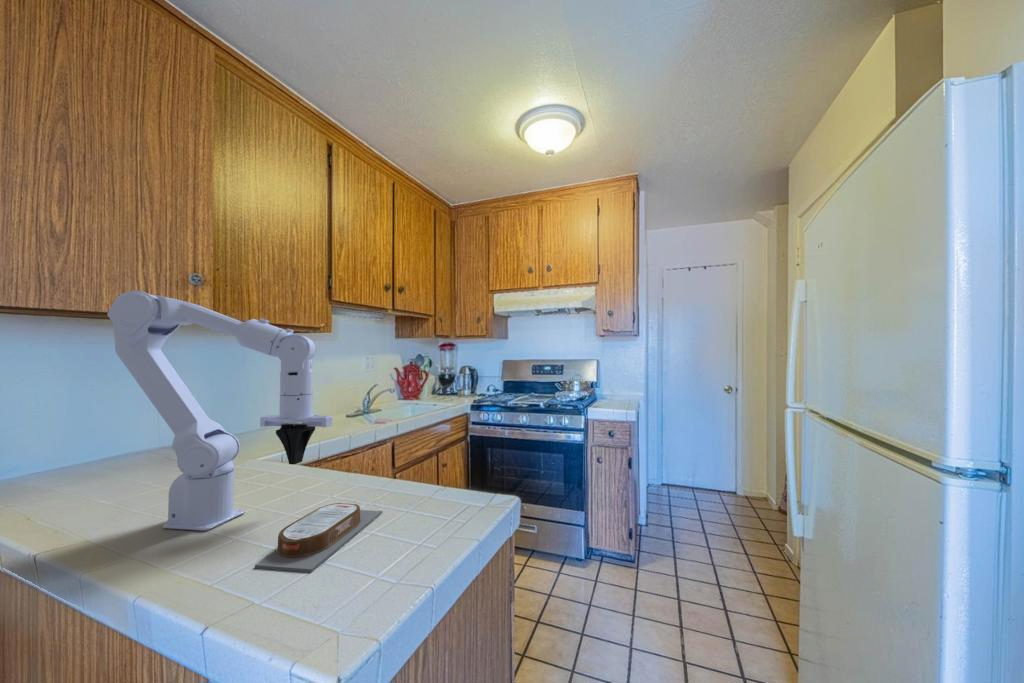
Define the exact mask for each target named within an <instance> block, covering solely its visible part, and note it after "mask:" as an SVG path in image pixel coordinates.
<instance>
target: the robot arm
mask: <svg viewBox="0 0 1024 683" xmlns="http://www.w3.org/2000/svg"><path fill="white" fill-rule="evenodd" d="M107 317H108V318H109V319H110V321H111V322H112V324H113V335H114V336H113V338H114V350H115V352H116V355H117V356H118V358H119V360H120V361H121V362H122V363H123V365H124V366H125V367H126V369H127V370H128V372H129V373H130V375H131V376H132V377H133V379H134V380H135V381H136V383H137V384H138V386H139V387H140V388H141V389H142V391H143V392H144V394H145V395H146V396H147V398H148V399H149V401H150V402H151V403H152V405H153V406H154V408H155V410H157V412H158V413H159V415H160V416H161V417H162V419H163V420H164V421H165V423H166V425H167V426H168V427H169V428H170V430H171V431H172V433H173V434H174V436H173V439H172V440H173V441H172V445H171V449H172V450H173V451H174V452H175V453H174V454H176V462H177V467H178V469H179V470H180V472H182V474H180V475H179V476H177V477H176V478H175V479H174V480H173V482H172V483H171V485H170V487H169V490H168V505H167V506H168V507H167V523H165V524H162V528H163V529H173V530H190V531H191V530H192V531H210V530H211V529H214V528H216V527H218V526H219V525H222V524H224V523H226V522H229V521H231V520H233V519H235V518H236V517H238V516H241V515H243V514H245V513H246V510H245V509H234V500H235V499H234V497H235V493H234V492H235V491H234V489H235V465H234V460H235V459H236V458H237V457H238V455H239V453H240V449H241V444H240V441H239V439H238V437H236V436H235V435H234V434H232V433H230V432H228V431H227V430H225V429H224V427H223V426H222V424H220V423H218V422H217V421H214V420H212V419H211V418H209V416H208V415H207V413H206V412H205V411H204V409H203V408H202V406H201V405H200V404H199V403H198V401H197V399H196V398H195V397H194V395H193V394H192V393H191V391H190V390H189V388H188V387H187V386H186V384H185V383H184V381H183V380H182V379H181V377H180V375H179V374H178V373H177V371H176V370H175V368H174V367H173V366H172V364H171V363H170V361H169V360H168V358H167V357H166V356H165V354H164V353H163V351H162V349H163V348H162V347H163V345H164V344H165V342H166V340H167V339H169V338H170V336H172V334H173V333H175V331H177V329H179V327H180V326H190V325H198V326H200V327H204V328H207V329H209V330H210V329H211V330H213V331H216V332H220V333H222V334H226V335H230V336H233V337H235V338H236V340H237V342H238V344H239V345H240V346H241V347H244V348H245V349H246V348H247V349H249V350H252V351H256V352H258V353H262V354H265V355H267V356H271V357H274V358H275V357H277V358H278V359H279V360H280V372H279V374H280V375H279V378H280V379H279V414H278V415H264V416H260V420H259V421H260V422H259V423H260V427H262V428H263V427H280V428H279V429H276V430H275V435H276V436H277V437H278V438H279V440H280V442H281V444H282V446H283V448H284V451H285V454H286V457H287V461H288V464H289V465H298V464H300V463H302V462H303V459H304V455H305V451H306V448H307V447H308V443H309V441H310V439H311V438H312V435H313V434H314V432H315V431H316V427H318V428H320V427H321V428H328V427H332V426H333V415H321V414H313V400H314V399H313V398H314V396H313V394H314V393H313V392H314V389H313V388H314V387H313V383H314V382H313V380H314V377H313V376H314V372H313V358H314V357H315V354H316V352H317V348H316V344H315V343H314V341H313V340H312V339H310V338H309V337H307V336H305V335H303V334H300V335H299V334H294V330H293V329H290V328H286V329H283V328H281V327H278V326H276V325H272V324H270V320H267V319H265V318H259V319H256V318H253V319H249V320H246V321H241V320H238V319H236V318H233V317H230V316H228V315H225V314H222V313H220V312H218V311H215V310H212V309H210V308H206V307H204V306H202V305H199V304H196V303H192V302H188V301H184V300H180V299H176V298H171V297H167V296H162V295H158V294H155V295H154V294H150V293H148V292H146V291H141V290H129V291H126V292H122V293H121V294H120V295H118V296H117V297H116V298H115V299H114V301H113V303H112V305H111V307H110V308H109V310H108V312H107Z"/></svg>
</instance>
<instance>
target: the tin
mask: <svg viewBox="0 0 1024 683" xmlns="http://www.w3.org/2000/svg"><path fill="white" fill-rule="evenodd" d="M360 510H361V507H360V505H359V504H357V503H342V502H336V503H331V504H327V505H324V506H321V507H318V508H317V509H315V510H312V511H311V512H309V513H307V514H306V515H304V516H303V517H300V518H298V519H297V520H295V521H293V522H292V523H290V524H288V525H287V526H285V527H283V528H282V529H281V530H280V531H279V532H278V536H277V548H276V551H277V553H278V554H279V555H280V556H283V557H288V558H296V557H303V556H309V555H312V554H315V553H318V552H320V551H323V550H325V549H327V548H328V547H330V546H331V545H333V544H334V543H335V542H337V541H338V540H339V539H341V538H342V537H343V536H345V535H346V534H347V533H349V532H350V531H351V530H353V529H354V528H355V527H357V526H358V525H359V524H360V522H361V519H360Z"/></svg>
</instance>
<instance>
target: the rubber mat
mask: <svg viewBox="0 0 1024 683" xmlns="http://www.w3.org/2000/svg"><path fill="white" fill-rule="evenodd" d="M381 513H382V514H383V510H370V509H369V510H368V509H366V510H365V509H360V519H361V522H360V524H359V525H358V526H357V527H355V528H354V529H353V530H351V531H350V532H349V533H347V534H346V535H345V536H343V537H342V538H341V539H339V540H338V541H337V542H335V543H334V544H333V545H331V546H330V547H328V548H327V549H325V550H323V551H320V552H318V553H315V554H312V555H309V556H303V557H296V558H288V557H283V556H280V555H279V554H278V553H277V550H274V551H273V552H272V553H271V554H269V555H268V556H266V557H264V558H263V559H262V560H260V561H259V562H257V563H255V564H254V569H262V570H263V569H264V570H277V571H279V570H280V571H290V572H302V573H303V572H304V573H312V572H314V571H315V570H316V569H317V568H319V567H320V566H321V565H322V564H323V563H324V562H326V561H327V560H328V559H329V558H330V557H332V556H333V555H334V554H335V553H336V552H338V551H339V550H340V549H341V548H342V547H344V546H345V545H346V544H347V543H349V542H350V541H351V540H352V539H353V538H355V537H356V536H357V535H358V534H359V533H361V532H362V531H363V530H364V529H365V528H366V527H368V526H369V525H370V524H372V523H373V520H374V519H375V518H376V519H377V518H379V517H380V516H381V515H382V514H381ZM380 514H381V515H380ZM379 515H380V516H379ZM376 519H375V520H376ZM375 520H374V521H375Z"/></svg>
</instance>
